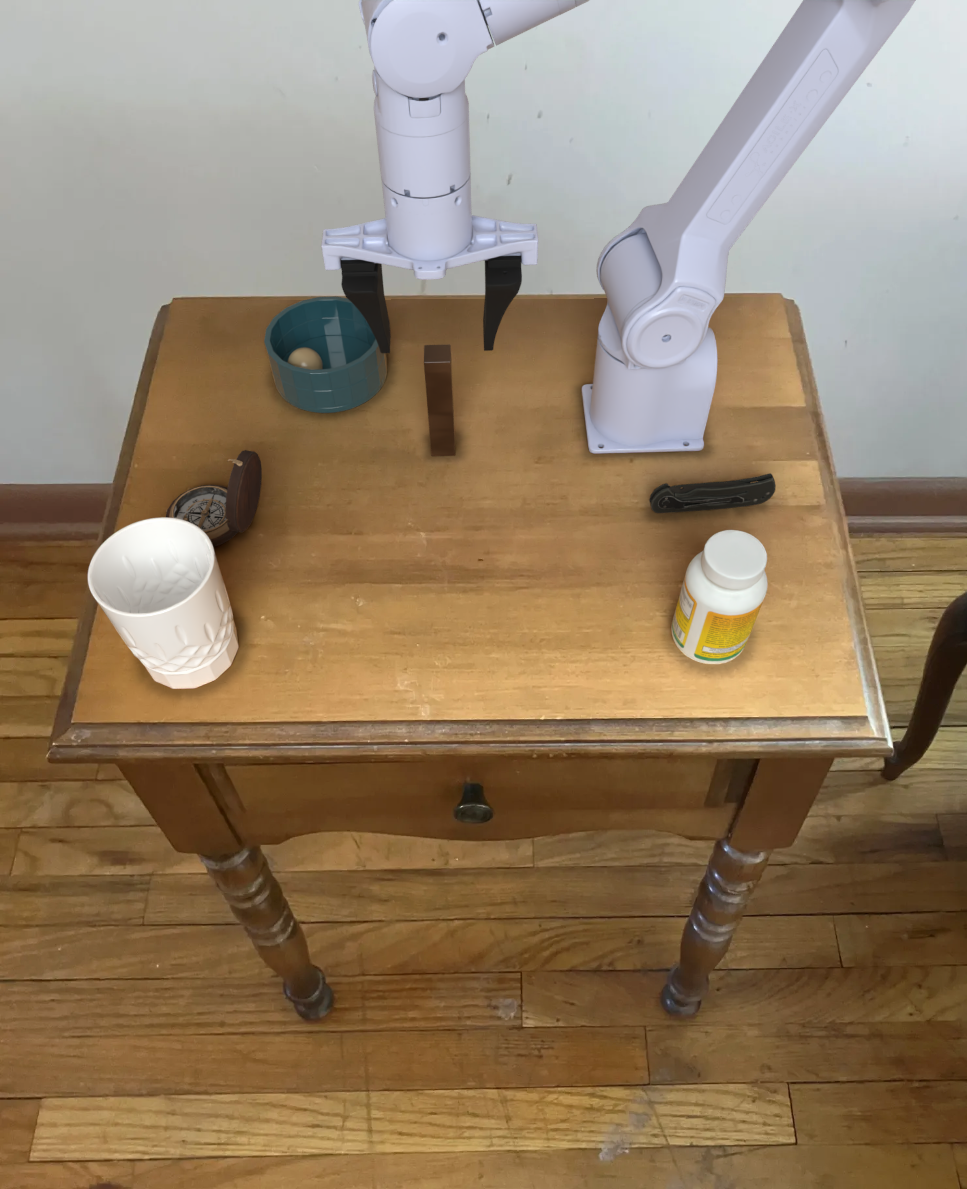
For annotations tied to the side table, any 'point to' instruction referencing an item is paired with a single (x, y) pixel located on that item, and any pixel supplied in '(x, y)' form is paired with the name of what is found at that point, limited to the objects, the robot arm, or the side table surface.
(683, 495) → the folding knife
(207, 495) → the compass
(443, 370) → the stirring stick
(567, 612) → the side table surface
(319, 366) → the bead
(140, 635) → the white cup
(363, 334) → the bowl
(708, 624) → the supplement bottle
